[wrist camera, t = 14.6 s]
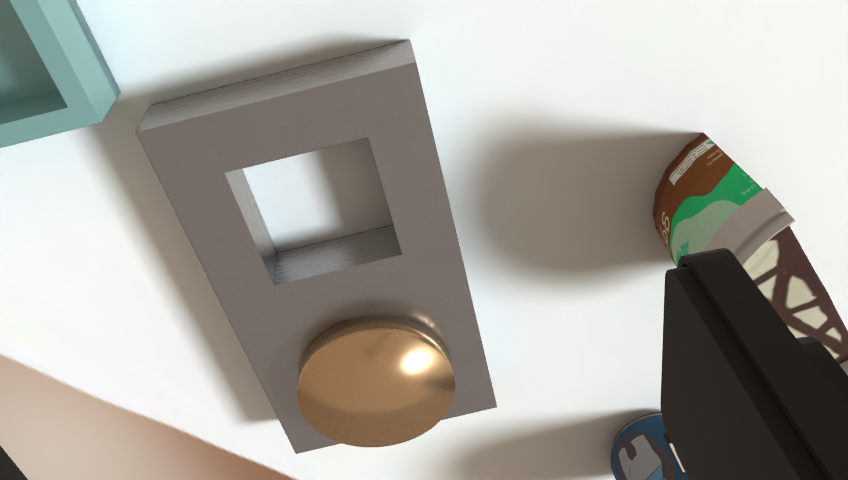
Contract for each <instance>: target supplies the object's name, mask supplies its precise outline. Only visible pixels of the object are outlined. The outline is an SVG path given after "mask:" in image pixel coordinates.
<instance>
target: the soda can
mask: <svg viewBox="0 0 848 480" xmlns="http://www.w3.org/2000/svg"><path fill="white" fill-rule="evenodd" d="M610 462H611V469H612V471H613V474H614V476H615V479H616V480H689V479H688V477H687V474H686V472H685V470H684V468H683V466H682V464H681V461H680V459H679V457H678V455H677V453H676V451H675V448H674V446H673V444H672V442H671V440H670V438H669V435H668V433H667V431H666V428H665V425H664V422H663V418H662V413H654V414H649V415H645V416H642V417H640V418H638V419H635V420H634V421H632V422H630V423H629V424H627V425H626V426H625V427H624V428H623V429H622V430H621V431H620V432H619V434H618V435H617V437H616V439H615V442H614V446H613V449H612V453H611V460H610Z"/></svg>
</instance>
